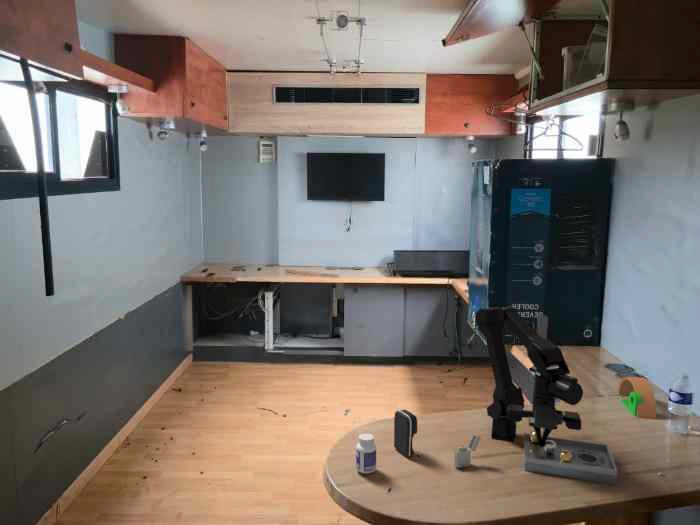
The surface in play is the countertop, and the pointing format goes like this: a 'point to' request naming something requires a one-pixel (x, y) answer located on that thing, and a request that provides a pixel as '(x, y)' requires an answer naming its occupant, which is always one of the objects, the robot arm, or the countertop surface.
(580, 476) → the tray
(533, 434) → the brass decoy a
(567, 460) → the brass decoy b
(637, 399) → the mechanical part
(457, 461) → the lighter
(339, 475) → the countertop surface
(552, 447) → the steel ball
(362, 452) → the pill bottle
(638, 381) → the arch
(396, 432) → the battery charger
